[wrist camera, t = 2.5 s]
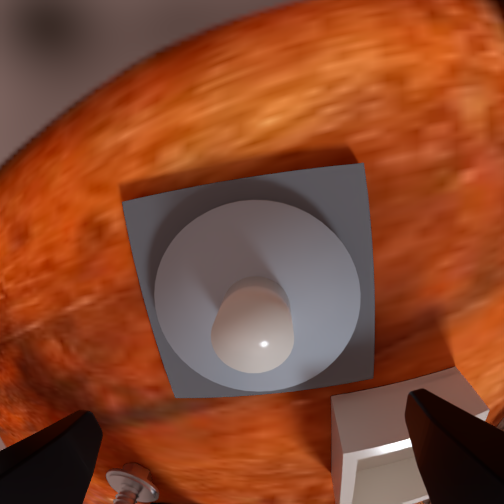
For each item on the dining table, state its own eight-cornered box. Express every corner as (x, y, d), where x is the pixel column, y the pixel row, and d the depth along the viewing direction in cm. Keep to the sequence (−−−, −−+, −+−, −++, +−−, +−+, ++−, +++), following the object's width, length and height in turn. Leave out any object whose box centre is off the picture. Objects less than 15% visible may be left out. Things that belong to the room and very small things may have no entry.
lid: (186, 386, 17) (168, 431, 13) (141, 218, 15) (102, 232, 11) (357, 367, 16) (375, 412, 12) (345, 185, 14) (371, 188, 10)
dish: (331, 473, 20) (337, 521, 15) (330, 396, 18) (343, 453, 13) (433, 448, 19) (452, 489, 14) (455, 366, 17) (489, 409, 12)
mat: (178, 390, 18) (175, 397, 17) (128, 200, 16) (121, 201, 15) (370, 370, 17) (373, 378, 16) (359, 163, 14) (363, 162, 14)
